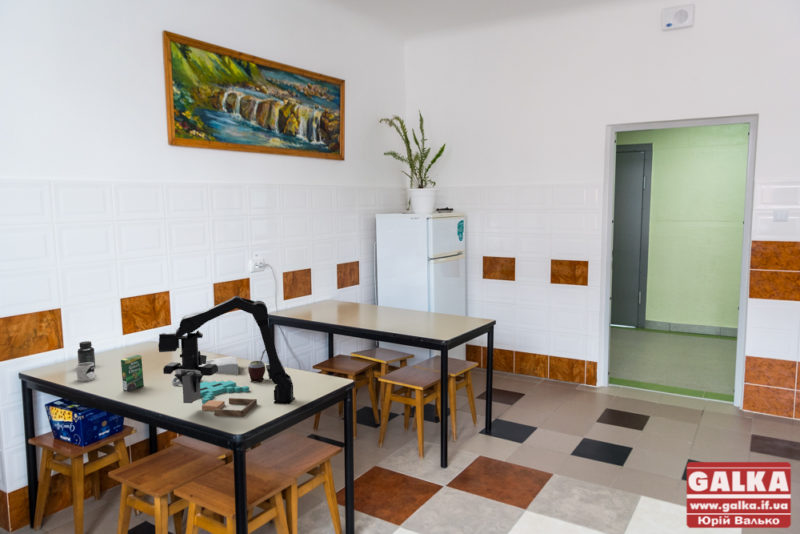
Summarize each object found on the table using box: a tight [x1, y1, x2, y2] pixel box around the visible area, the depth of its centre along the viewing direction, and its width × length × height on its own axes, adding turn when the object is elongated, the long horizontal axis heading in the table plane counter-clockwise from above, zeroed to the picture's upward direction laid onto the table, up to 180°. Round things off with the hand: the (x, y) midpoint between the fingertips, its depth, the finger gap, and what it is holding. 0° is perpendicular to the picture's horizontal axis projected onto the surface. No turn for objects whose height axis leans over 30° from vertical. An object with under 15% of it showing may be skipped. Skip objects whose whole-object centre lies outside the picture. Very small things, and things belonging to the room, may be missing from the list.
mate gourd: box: [247, 349, 266, 384], centre depth 250 cm, size 8×8×15 cm
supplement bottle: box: [77, 340, 96, 368], centre depth 270 cm, size 7×7×12 cm
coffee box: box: [120, 354, 145, 392], centre depth 241 cm, size 8×3×13 cm, turn 150°
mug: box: [75, 362, 96, 383], centre depth 255 cm, size 10×7×7 cm, turn 0°
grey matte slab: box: [181, 371, 202, 404], centre depth 215 cm, size 3×7×10 cm, turn 171°
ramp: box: [199, 355, 239, 376], centre depth 267 cm, size 28×16×5 cm, turn 58°
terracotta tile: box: [201, 399, 226, 412], centre depth 219 cm, size 6×6×2 cm
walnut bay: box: [213, 397, 258, 418], centre depth 216 cm, size 11×13×2 cm
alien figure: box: [200, 380, 250, 405], centre depth 236 cm, size 20×2×20 cm
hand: (191, 391), depth 215 cm, fingers closed on grey matte slab, 3 cm apart
